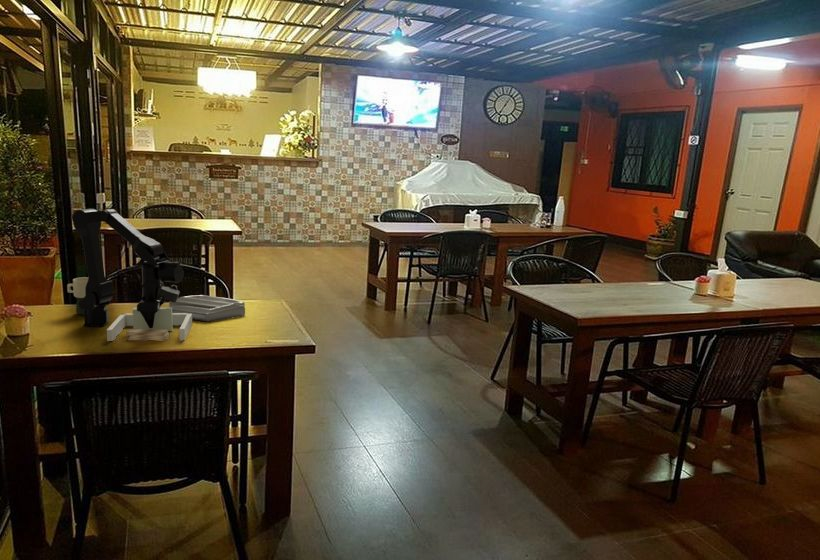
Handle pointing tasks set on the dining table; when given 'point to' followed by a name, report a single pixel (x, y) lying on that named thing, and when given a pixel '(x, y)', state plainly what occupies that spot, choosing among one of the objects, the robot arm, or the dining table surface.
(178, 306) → the emblem
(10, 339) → the dining table surface
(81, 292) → the character mug
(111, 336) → the rack
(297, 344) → the dining table surface
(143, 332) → the offcut stack
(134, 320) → the pale green rectangular slab
